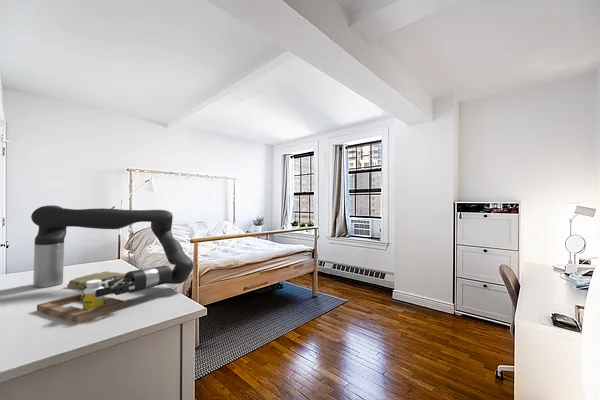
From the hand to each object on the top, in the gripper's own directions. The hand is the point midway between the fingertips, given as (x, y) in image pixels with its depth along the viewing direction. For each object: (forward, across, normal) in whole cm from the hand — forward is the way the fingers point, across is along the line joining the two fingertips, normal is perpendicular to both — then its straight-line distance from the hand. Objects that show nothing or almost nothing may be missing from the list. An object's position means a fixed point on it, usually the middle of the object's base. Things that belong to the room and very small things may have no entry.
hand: (89, 291), depth 87 cm
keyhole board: (0, -6, +7) cm, 9 cm away
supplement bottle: (-1, -1, +7) cm, 7 cm away
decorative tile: (-16, -31, +8) cm, 36 cm away
